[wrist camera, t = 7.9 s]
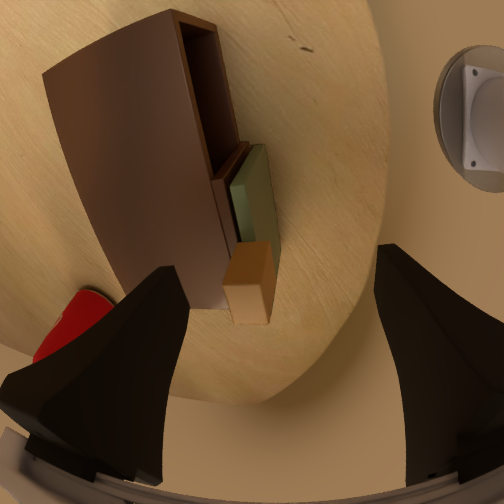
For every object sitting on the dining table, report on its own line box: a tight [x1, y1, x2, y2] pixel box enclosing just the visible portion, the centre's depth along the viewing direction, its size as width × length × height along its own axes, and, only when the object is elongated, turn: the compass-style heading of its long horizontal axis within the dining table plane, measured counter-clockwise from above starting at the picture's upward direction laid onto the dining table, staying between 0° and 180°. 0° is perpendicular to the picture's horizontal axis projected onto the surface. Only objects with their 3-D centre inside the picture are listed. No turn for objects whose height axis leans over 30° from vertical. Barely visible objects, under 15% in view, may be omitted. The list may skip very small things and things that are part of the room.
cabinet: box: [42, 9, 251, 309], centre depth 16 cm, size 9×16×7 cm, turn 10°
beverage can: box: [32, 290, 115, 364], centre depth 26 cm, size 6×6×12 cm
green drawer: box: [222, 144, 281, 324], centre depth 16 cm, size 2×8×10 cm, turn 10°
